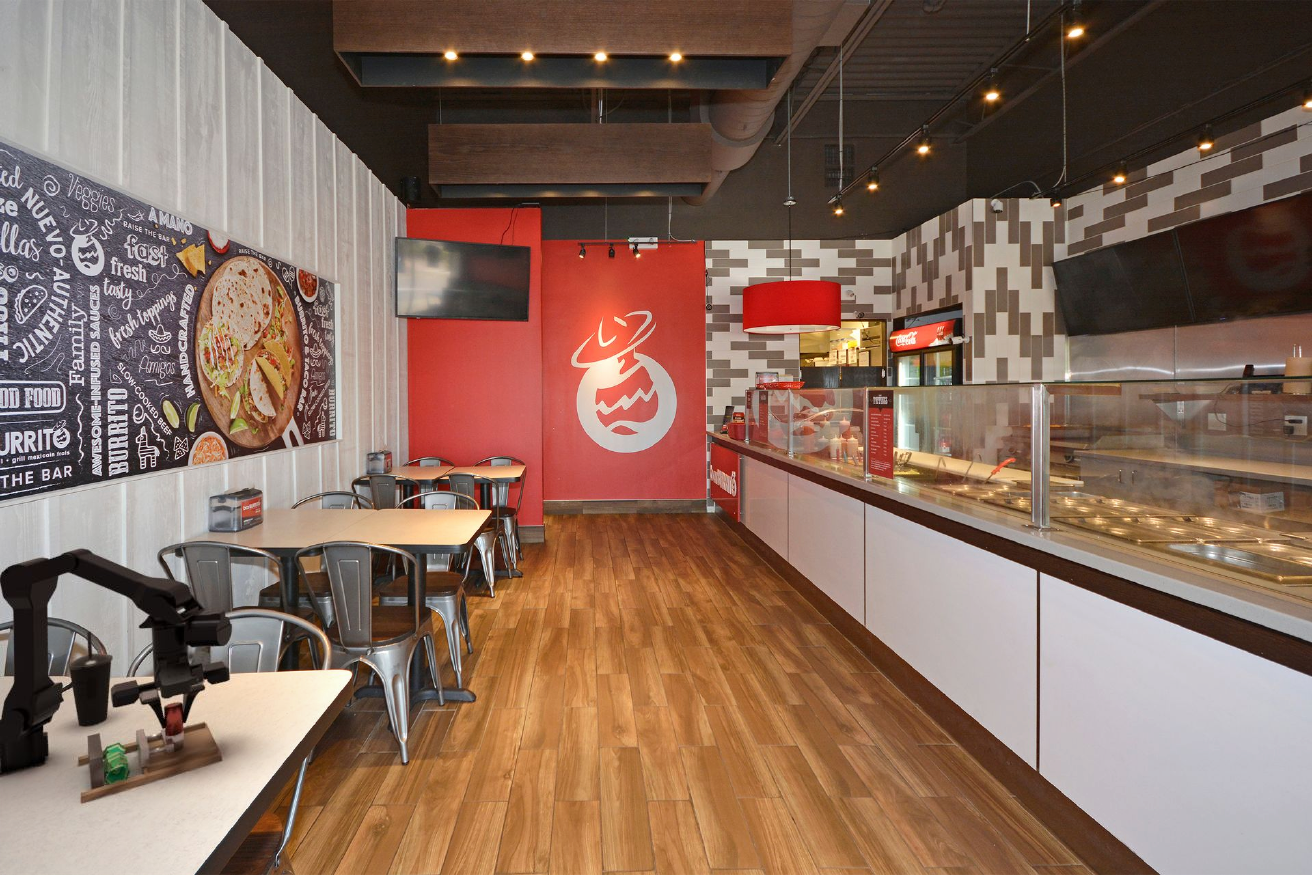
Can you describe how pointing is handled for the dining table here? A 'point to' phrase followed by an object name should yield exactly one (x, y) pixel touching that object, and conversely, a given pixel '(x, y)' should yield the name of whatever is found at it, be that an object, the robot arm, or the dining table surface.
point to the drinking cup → (91, 686)
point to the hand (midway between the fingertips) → (174, 725)
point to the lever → (163, 734)
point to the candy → (115, 764)
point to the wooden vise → (152, 761)
